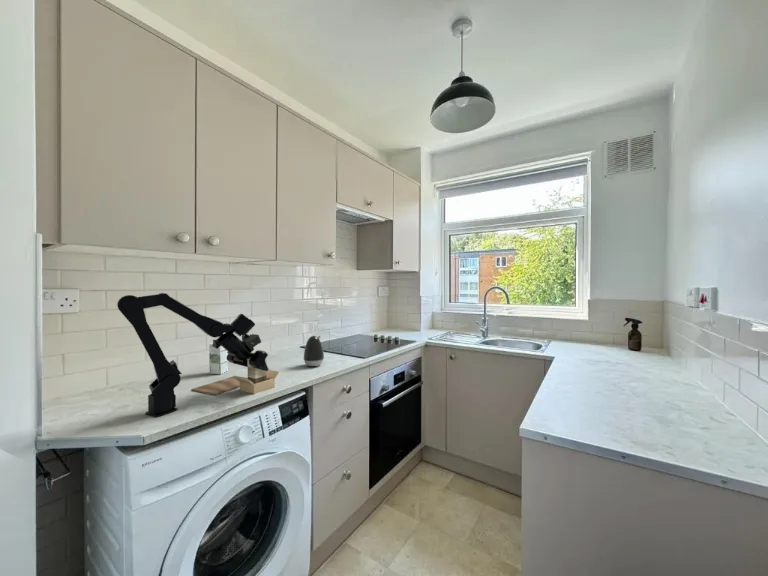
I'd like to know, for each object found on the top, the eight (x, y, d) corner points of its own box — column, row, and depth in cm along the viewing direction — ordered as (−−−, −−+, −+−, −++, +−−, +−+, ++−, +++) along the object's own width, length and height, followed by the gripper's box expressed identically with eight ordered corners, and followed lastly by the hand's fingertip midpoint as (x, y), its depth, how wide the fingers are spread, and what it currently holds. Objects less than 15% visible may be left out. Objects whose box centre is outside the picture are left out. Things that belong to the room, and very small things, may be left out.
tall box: (255, 391, 121) (255, 355, 121) (247, 389, 124) (247, 353, 124) (266, 387, 126) (266, 352, 126) (258, 385, 128) (258, 351, 128)
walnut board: (216, 395, 117) (216, 393, 117) (191, 390, 123) (191, 389, 123) (258, 380, 136) (258, 379, 136) (234, 377, 141) (234, 375, 141)
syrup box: (228, 371, 151) (227, 341, 151) (220, 374, 145) (220, 343, 145) (216, 371, 152) (216, 341, 152) (208, 374, 146) (208, 343, 146)
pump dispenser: (328, 364, 164) (327, 334, 164) (316, 369, 154) (315, 337, 154) (312, 362, 168) (311, 333, 168) (299, 367, 159) (299, 336, 159)
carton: (248, 395, 117) (248, 380, 117) (234, 391, 122) (233, 376, 122) (279, 385, 128) (279, 371, 128) (264, 382, 133) (264, 368, 133)
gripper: (263, 329, 117) (287, 354, 126) (233, 326, 127) (257, 349, 136) (243, 355, 110) (270, 378, 119) (214, 349, 120) (241, 372, 129)
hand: (260, 368), depth 126 cm, fingers open, 9 cm apart
